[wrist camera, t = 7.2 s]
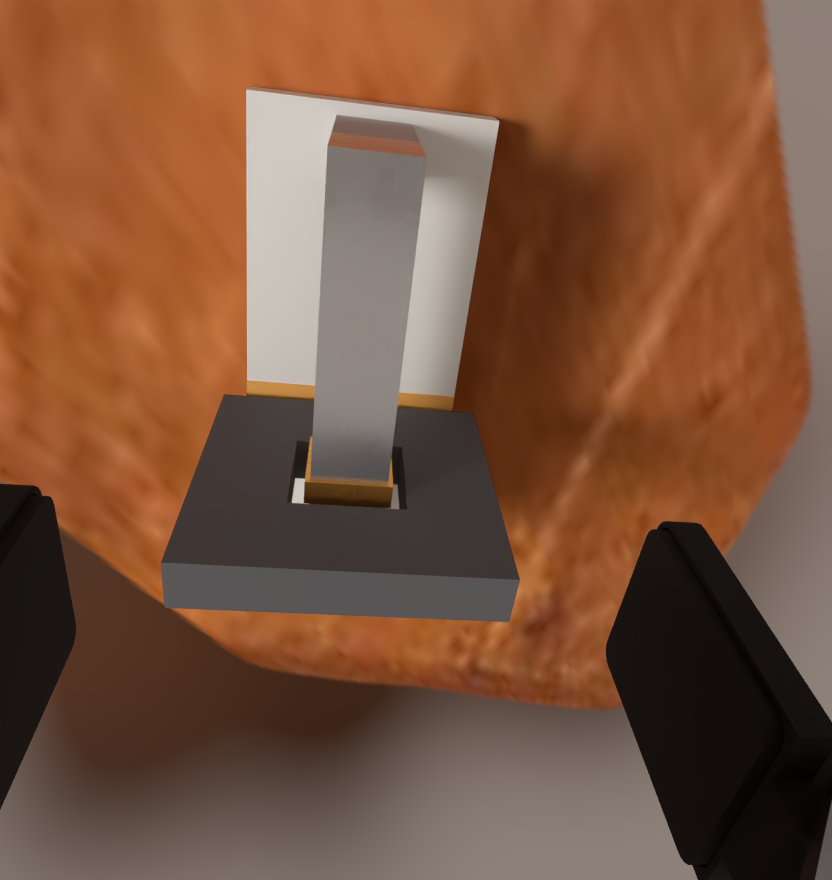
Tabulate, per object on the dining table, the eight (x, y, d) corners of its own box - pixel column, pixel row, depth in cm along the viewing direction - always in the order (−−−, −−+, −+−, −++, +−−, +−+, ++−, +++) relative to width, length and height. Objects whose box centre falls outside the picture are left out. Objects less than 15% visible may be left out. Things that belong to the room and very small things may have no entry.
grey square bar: (325, 130, 24) (320, 145, 21) (425, 142, 24) (434, 159, 21) (304, 563, 33) (298, 615, 30) (375, 567, 34) (376, 618, 31)
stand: (251, 86, 28) (224, 102, 23) (493, 116, 30) (523, 139, 24) (251, 491, 38) (232, 570, 33) (431, 502, 40) (442, 581, 34)
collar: (224, 394, 33) (161, 562, 23) (473, 413, 34) (519, 579, 24) (224, 430, 34) (164, 607, 24) (467, 447, 35) (509, 622, 25)
